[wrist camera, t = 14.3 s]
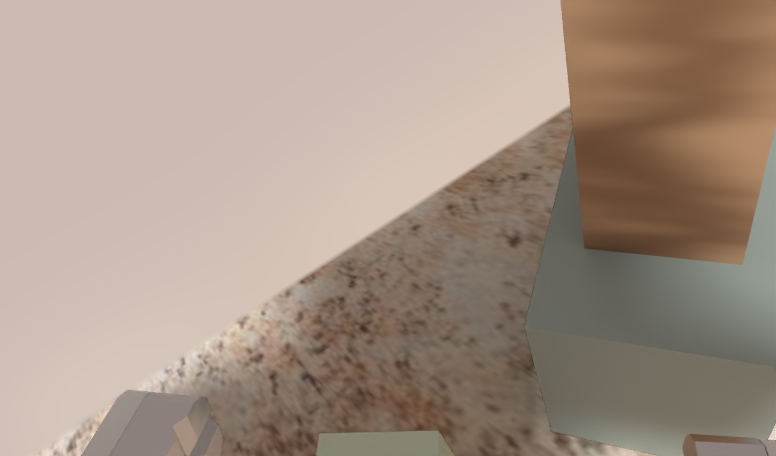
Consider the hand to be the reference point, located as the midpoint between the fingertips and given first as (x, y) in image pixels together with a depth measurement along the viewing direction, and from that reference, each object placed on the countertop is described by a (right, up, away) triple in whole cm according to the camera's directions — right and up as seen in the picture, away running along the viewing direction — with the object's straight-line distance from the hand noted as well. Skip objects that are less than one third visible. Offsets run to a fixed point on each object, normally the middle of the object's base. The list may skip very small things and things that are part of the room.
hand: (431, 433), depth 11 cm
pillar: (+9, +5, +12) cm, 16 cm away
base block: (+12, -1, +20) cm, 23 cm away
